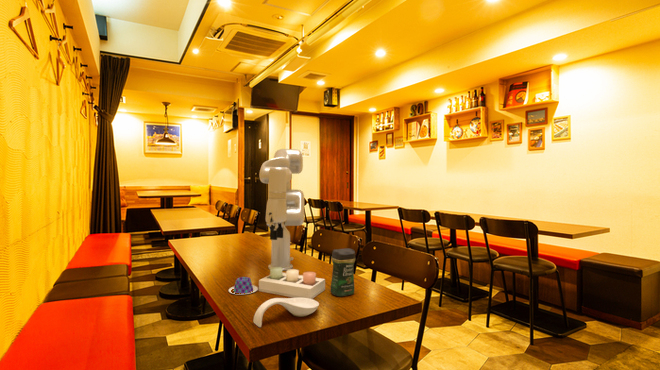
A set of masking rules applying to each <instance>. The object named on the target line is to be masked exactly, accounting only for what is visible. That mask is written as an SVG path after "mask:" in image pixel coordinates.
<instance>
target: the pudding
mask: <svg viewBox="0 0 660 370" xmlns="http://www.w3.org/2000/svg"><path fill="white" fill-rule="evenodd" d="M232 289H234V290H233V291H234V293H232V292H231V290H232ZM252 291H253V292H252ZM257 291H259V286H256V285H254V284H252V279H251V277H249V276H241V277H237V278H236V280H235V284H234V286H232V287H229V289H228V292H229V293H230V294H232V295H236V294H235V293H239V294H238V295H245V294H246V295H249V294H252V293H255V292H257ZM250 292H251V293H250ZM240 293H241V294H240ZM244 293H245V294H244Z"/></svg>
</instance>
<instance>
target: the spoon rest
mask: <svg viewBox="0 0 660 370" xmlns="http://www.w3.org/2000/svg"><path fill="white" fill-rule="evenodd" d="M274 305H281V306H282V307H284V308H285V310H287V311H288V312H289V313H290V314H292V315H293V316H295V317H307V316H310V315H312V314H313V313H314V312H315V311H316V310H317V309H318V308H319V305H320V303H319V301H317V300H315V299H314V298H313V299H309V298H294V297H288V298H287V297H286V298H285V297H274V298H270V299H268V300H265V301H264V302H263V303H262V304H261V305H259V306H258V308H257V309H256V311H255V313H254V316H253V320H252V321H253V324H254V325H256V326H257V327H258V328H262V325H263V318H264V317H263V316H264V314H265V312H266V311H267V310H268V309H269V308H270V307H272V306H274Z"/></svg>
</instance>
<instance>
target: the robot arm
mask: <svg viewBox="0 0 660 370" xmlns="http://www.w3.org/2000/svg"><path fill="white" fill-rule="evenodd" d="M303 161H304V158H303V153H302V151H300V149H295V148H281V149H277V150H276V151H275V153H274V155H273V158H271V159H268V160H266V161H264V162H263V163H262V165H261V167H260V170H259V180H260V182H261V183H263V184H268V196H267V197H268V199H267V202H266V209H265V222H266V226H267V227H268V229H269V239H270V240H271V258H270V259H271V263H269V264H268V267H267V268H268V270H270V268H272V267H281V268H282V272H283V271H287V270H289V269H294V268H293V267H294V266H293V264H292V263H291V261H293V260H294V257H293V256H291V233H290V231H289V230H288V228H287V227H288V226H292V227H293V226H297V227H299V226H302V225H304V222H305V195H304V192H303V191H302V190H300V189H292V188H291V185H292V183H291V181H292V178H293V174H294V175H297V174H298V175H299V174H301V173H302V171H303V168H304V162H303Z"/></svg>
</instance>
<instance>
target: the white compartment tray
mask: <svg viewBox="0 0 660 370" xmlns="http://www.w3.org/2000/svg"><path fill="white" fill-rule="evenodd" d="M325 290H326V279H325V278H320V277H316V284H315V285H313V286H311V285H304V284H303V274H299V281H298V282H296V283H292V282H286V272H282V279H280V280H274V279H270V274H269V275H267V276H265V277H263V278H261V279H259V280H258V292H262V293H268V294H274V295H277V296H285V297H288V298H309V299H313V300H314V298H315V297H317V296H318V295H319V294H321V293H322V292H324V291H325Z"/></svg>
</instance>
